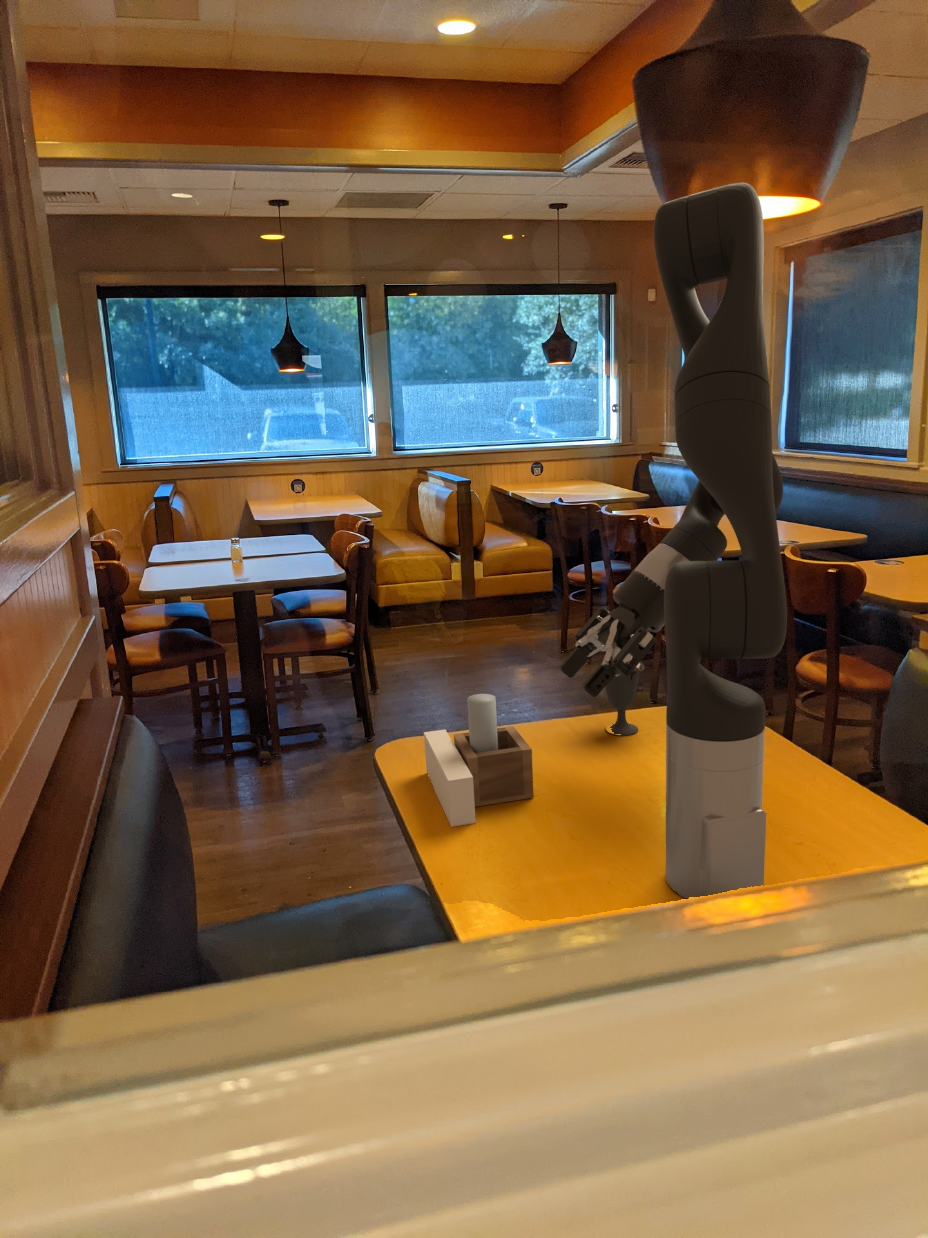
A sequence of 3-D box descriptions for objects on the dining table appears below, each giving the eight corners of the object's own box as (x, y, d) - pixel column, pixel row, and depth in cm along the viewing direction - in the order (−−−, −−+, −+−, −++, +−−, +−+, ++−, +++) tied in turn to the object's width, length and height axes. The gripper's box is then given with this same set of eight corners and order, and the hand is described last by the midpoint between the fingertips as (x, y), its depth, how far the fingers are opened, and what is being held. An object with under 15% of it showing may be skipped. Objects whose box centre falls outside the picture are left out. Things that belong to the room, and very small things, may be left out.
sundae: (614, 741, 121) (613, 643, 118) (591, 726, 127) (589, 632, 124) (653, 733, 124) (653, 636, 120) (628, 718, 130) (627, 626, 126)
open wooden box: (533, 797, 105) (531, 749, 104) (470, 807, 104) (467, 758, 102) (515, 771, 113) (513, 726, 111) (456, 780, 111) (453, 734, 110)
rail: (475, 823, 100) (473, 777, 98) (451, 827, 99) (448, 780, 98) (447, 769, 115) (445, 729, 114) (426, 773, 114) (423, 732, 113)
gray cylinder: (503, 789, 107) (498, 701, 104) (475, 793, 106) (470, 705, 103) (495, 778, 110) (491, 692, 107) (469, 782, 109) (464, 695, 106)
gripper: (616, 561, 113) (538, 651, 113) (663, 578, 99) (575, 681, 99) (652, 595, 115) (576, 684, 115) (703, 617, 102) (617, 717, 102)
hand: (575, 682), depth 107 cm, fingers open, 8 cm apart
